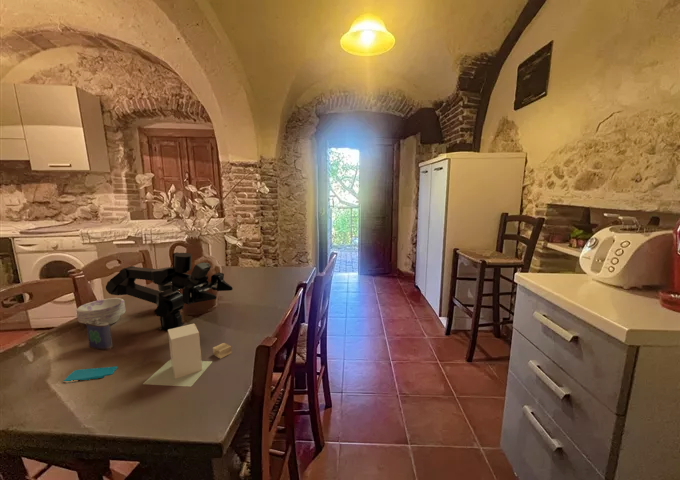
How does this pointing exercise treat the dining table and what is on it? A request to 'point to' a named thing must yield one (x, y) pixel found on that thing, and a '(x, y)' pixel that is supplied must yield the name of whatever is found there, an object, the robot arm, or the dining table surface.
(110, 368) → the sponge
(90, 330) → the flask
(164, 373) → the mat
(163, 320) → the robot arm
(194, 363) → the upright cream box
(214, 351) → the block
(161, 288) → the jar
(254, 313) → the dining table surface
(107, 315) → the paper bowls
